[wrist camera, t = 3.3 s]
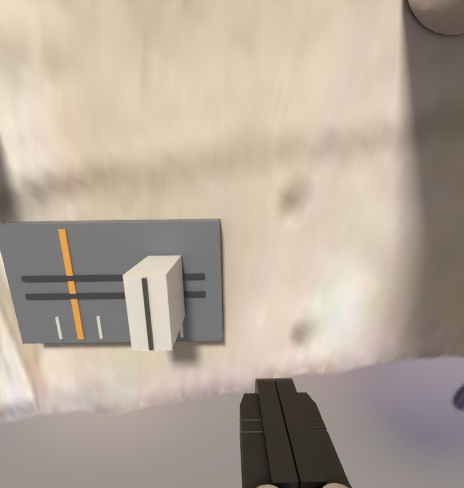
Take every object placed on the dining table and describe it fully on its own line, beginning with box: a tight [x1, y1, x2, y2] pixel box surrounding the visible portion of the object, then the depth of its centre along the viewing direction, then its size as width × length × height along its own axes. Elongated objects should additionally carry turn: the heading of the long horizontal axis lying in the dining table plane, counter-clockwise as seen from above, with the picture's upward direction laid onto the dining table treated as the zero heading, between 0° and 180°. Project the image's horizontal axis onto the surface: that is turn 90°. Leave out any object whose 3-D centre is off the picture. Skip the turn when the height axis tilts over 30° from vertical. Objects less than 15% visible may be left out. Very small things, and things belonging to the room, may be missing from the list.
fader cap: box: [123, 255, 185, 351], centre depth 19 cm, size 3×6×5 cm, turn 1°
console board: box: [0, 219, 223, 344], centre depth 23 cm, size 20×12×2 cm, turn 91°
